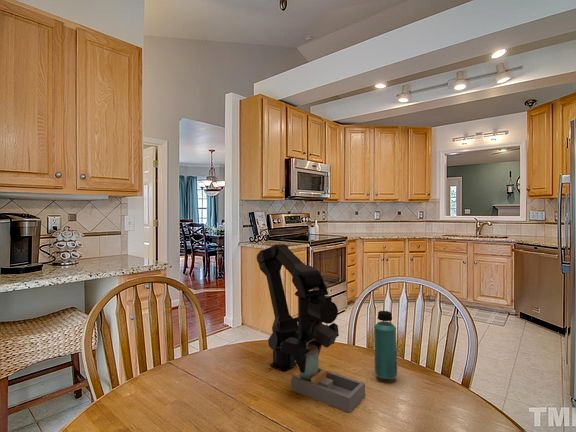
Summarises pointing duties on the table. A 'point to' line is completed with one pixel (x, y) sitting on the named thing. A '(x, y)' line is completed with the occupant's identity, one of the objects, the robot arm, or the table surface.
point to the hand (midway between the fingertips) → (308, 368)
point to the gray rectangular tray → (332, 391)
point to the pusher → (322, 379)
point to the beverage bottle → (385, 347)
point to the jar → (311, 363)
